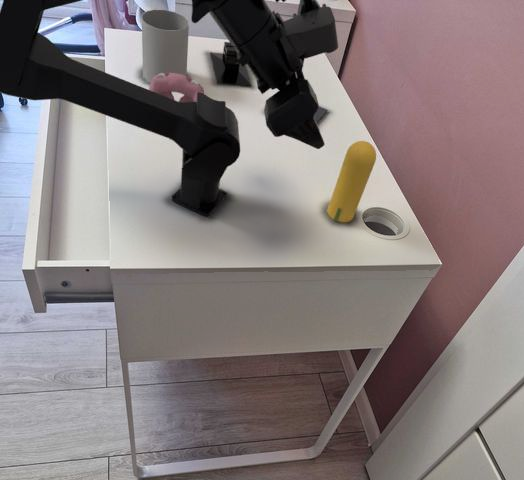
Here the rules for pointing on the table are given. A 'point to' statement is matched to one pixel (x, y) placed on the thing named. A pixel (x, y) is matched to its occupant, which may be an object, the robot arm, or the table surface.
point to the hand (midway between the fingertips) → (316, 127)
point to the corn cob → (352, 181)
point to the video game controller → (176, 86)
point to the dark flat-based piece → (229, 67)
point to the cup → (164, 43)
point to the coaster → (319, 114)
